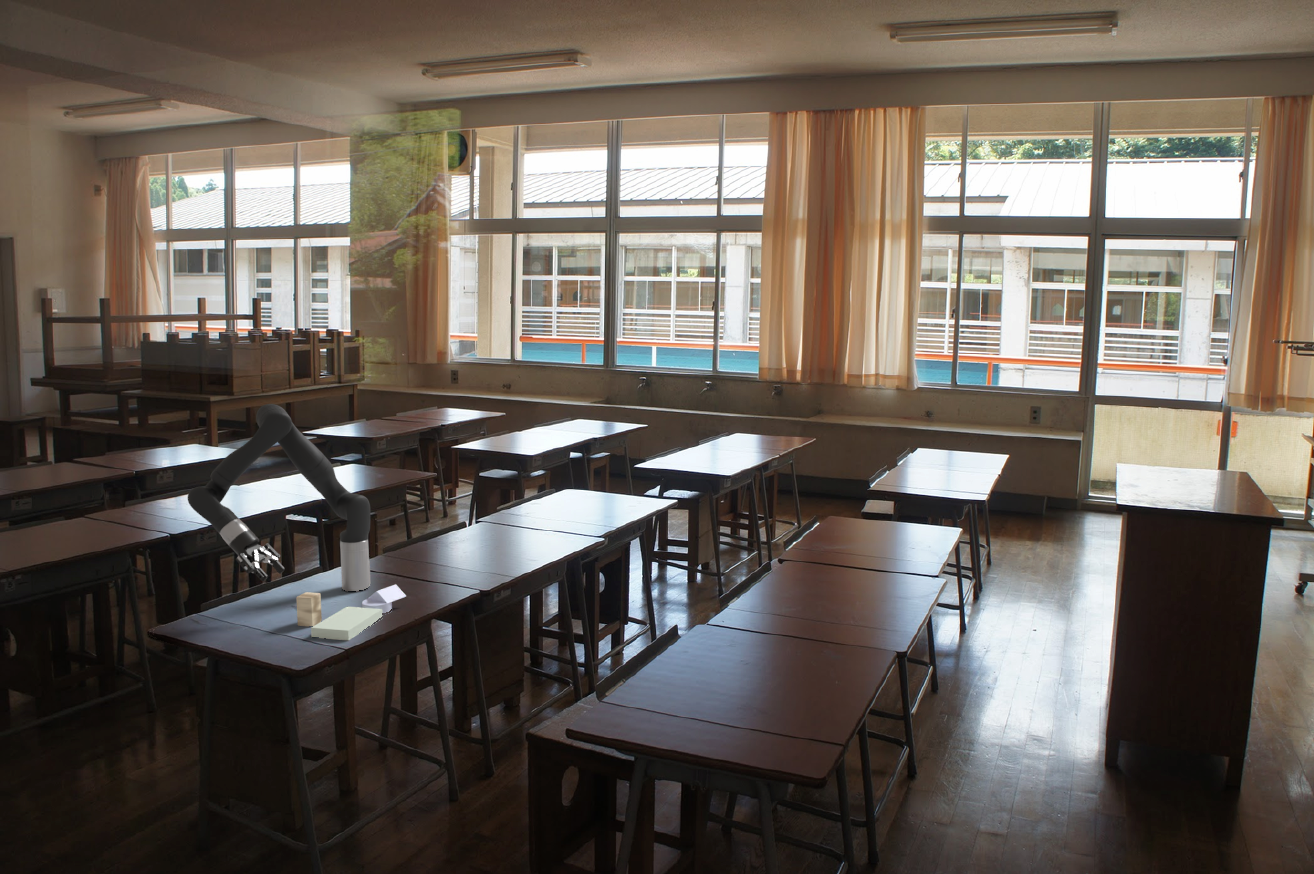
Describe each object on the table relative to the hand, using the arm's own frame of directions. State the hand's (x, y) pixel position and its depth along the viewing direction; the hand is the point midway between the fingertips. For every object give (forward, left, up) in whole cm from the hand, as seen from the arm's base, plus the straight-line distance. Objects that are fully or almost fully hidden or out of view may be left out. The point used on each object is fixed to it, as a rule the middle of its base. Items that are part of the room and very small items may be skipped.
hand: (274, 575), depth 279 cm
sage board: (+1, +25, -14) cm, 29 cm away
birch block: (0, +11, -14) cm, 18 cm away
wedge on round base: (-17, +26, -15) cm, 35 cm away
